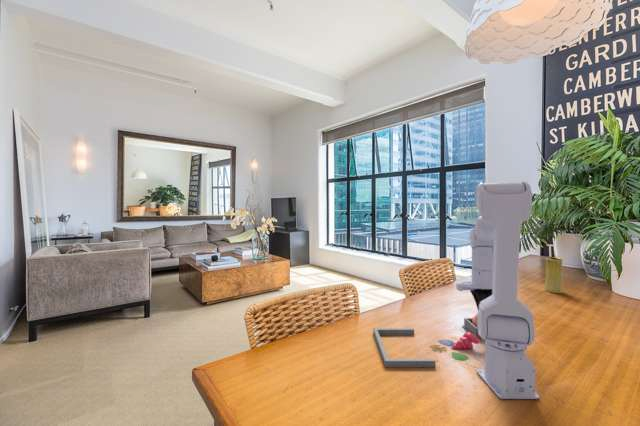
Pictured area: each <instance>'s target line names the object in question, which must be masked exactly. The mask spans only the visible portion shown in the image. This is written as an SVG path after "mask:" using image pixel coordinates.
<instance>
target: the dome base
mask: <svg viewBox="0 0 640 426" xmlns="http://www.w3.org/2000/svg"><path fill="white" fill-rule="evenodd" d="M472 318H473V317H466V318H465V317H464V318H463V324H462V325H461V326H462V328H463V329H464V331H466V332H470V333H473V334H474V335H476V336H477V338H478V339H479V340H483V339H482V338H481V337H480V336H479V334H478V328H477V327H476V326H475V325H474V324H473V323H472Z"/></svg>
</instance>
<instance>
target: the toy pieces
mask: <svg viewBox="0 0 640 426" xmlns="http://www.w3.org/2000/svg"><path fill="white" fill-rule="evenodd" d="M437 342H438V343H439V344H440V345H439V344H432V345H430V346H429V349H430V350H431V351H432V352H434V353H437V352H438V353H439V354H442V353H443V352H448V350H447V349H448V348H447V347H449V348H450V350H467V349H468V350H471V349H473V348H474V345H473V344H476V345H478V344H480V343H481V339H478V338H477V336H476V335H474V334H473V333H470V332H467V331H466V332H464V334H463V335H462V336H461V337H460V338H459V339H458V340H457V341H456V342H454V341H453V340H451V339H438V340H437ZM441 345H442V346H441ZM440 346H441V347H440ZM451 358H452V359H454V360H456V361H458V362H465V361H468V360H470V358H469V355H467V354H464V353H462V352H455V351H452V352H451Z"/></svg>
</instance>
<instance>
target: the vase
mask: <svg viewBox="0 0 640 426" xmlns="http://www.w3.org/2000/svg"><path fill="white" fill-rule="evenodd" d="M544 291H546V292H548V293H552V294H563V292H564V291H563V258H560V257H552V256H551V257H548V256H547V257H546V259H545V281H544Z"/></svg>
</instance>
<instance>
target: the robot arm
mask: <svg viewBox="0 0 640 426" xmlns="http://www.w3.org/2000/svg"><path fill="white" fill-rule="evenodd" d="M475 205H476V208H477V210H478V213H479V214H478V215H479V216H478V217H477V219H476V221H475V225H474V227H470V232H469V244H470V248H471V281H464V282H456V284H455V286H456V287H455V288H456V290H457V291H459V292H463V291H469V292H470V293H471V295H472V297H473V299H474V302H475V304H476V308H477V328H478V334H479V336H480V337H481V338H482V339H481V340H484V369H476V373H477V375H479V376H480V378H481V379H482V380H483V381H484V382H485V384H486V385H487V386H488V387H489V389H491V390H492V392H494V393H495V395H496V396H497V397H498V398H499V399H501V400H539V399H540V395H539V394H537V392H536V367H535V364H534V363H533V362H532V360H531V359H530V358H529V357H528V355H527V353H526V350H528V346H531V345H532V344H533V343H534V342H535V340H536V339H535V337H536V330H535V323H534V314H533V312H532V310H531V309H530V308H529V307H528V306H527V305H526V304H525V303H523V302H522V301H520V300H519V299H518V292H519V291H518V290H519V268H520V263H519V262H520V235H521V230H522V229H521V228H522V223H524V222H526V221H529V220H530V219H531V214H532V208H533V207H532V205H533V192H532V188H531V185H530V184H529V183H528V182H527V181H526V180H525V181H524V180H523V181H518V182H517V181H513V182H511V181H510V182H479V183H478V184H477V185H476V188H475Z"/></svg>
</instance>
